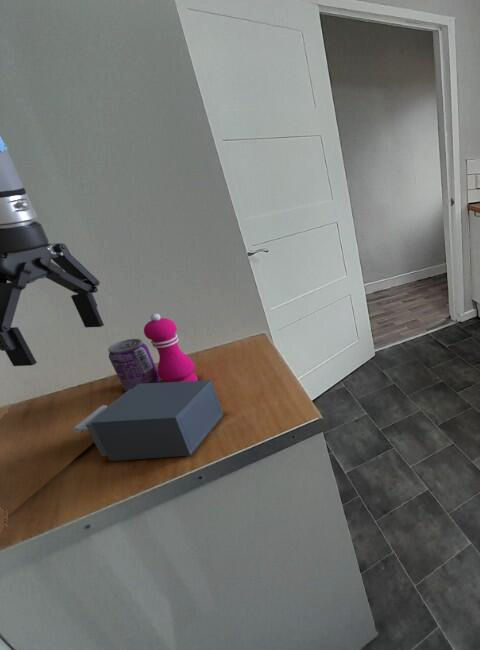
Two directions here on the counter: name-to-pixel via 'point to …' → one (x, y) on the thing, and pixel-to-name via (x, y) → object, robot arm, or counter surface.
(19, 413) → the counter surface
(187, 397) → the cabinet
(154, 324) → the pepper mill
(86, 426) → the drawer
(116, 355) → the beverage can
